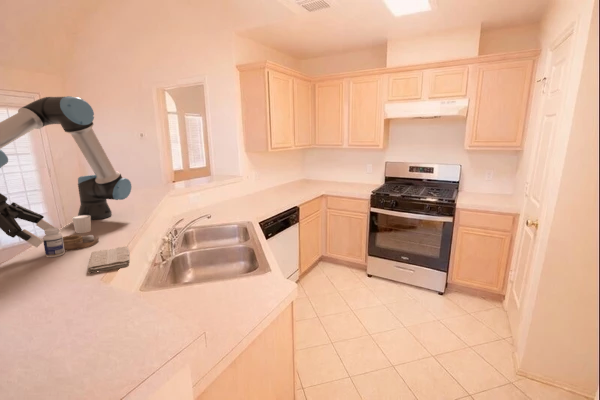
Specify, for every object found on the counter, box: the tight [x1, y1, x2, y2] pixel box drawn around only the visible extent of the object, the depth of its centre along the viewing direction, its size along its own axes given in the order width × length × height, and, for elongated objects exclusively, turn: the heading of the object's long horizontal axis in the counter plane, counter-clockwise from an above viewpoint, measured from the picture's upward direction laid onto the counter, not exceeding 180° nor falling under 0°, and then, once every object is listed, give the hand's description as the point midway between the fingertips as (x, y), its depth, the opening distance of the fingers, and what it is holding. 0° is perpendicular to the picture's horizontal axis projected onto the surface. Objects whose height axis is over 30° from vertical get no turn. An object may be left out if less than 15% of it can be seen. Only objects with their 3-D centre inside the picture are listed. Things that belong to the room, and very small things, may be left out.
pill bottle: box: [42, 227, 66, 258], centre depth 103 cm, size 5×5×10 cm
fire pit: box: [63, 234, 99, 251], centre depth 115 cm, size 14×14×3 cm
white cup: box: [71, 215, 92, 234], centre depth 131 cm, size 7×7×7 cm
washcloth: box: [87, 245, 131, 274], centre depth 100 cm, size 12×18×3 cm, turn 33°
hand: (48, 238), depth 102 cm, fingers open, 13 cm apart
